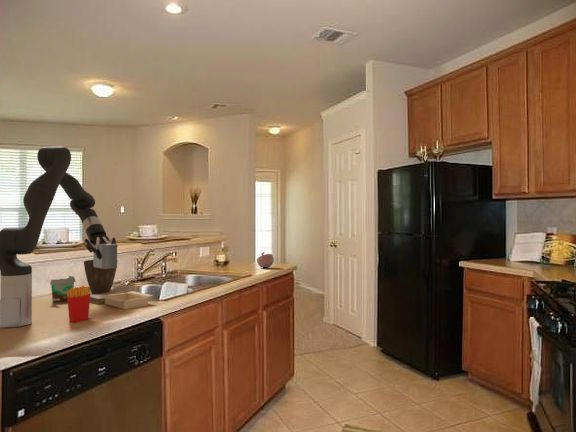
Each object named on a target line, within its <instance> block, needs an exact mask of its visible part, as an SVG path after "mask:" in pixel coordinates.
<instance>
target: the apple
mask: <svg viewBox="0 0 576 432" xmlns="http://www.w3.org/2000/svg"><path fill="white" fill-rule="evenodd" d="M274 258H275V257H274V256H273V254H272V253H265V251H263V252H261V255H259V256H258V257H257V258H256V263H257V265H258V266H259V267H260V268H262V267H269V268H270V267H272V266H273V264H274V262H275V261H274V260H275V259H274Z"/></svg>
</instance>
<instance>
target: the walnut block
mask: <svg viewBox="0 0 576 432" xmlns="http://www.w3.org/2000/svg"><path fill="white" fill-rule="evenodd" d="M115 294H120V293H119V292H115V291H110V292H107V293H100V294H92V293H91V294H90V303H93V304H95V305H103V304H105V298H102V297H99V296H103V295H106V296H108V295H115Z"/></svg>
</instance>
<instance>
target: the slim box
mask: <svg viewBox="0 0 576 432" xmlns="http://www.w3.org/2000/svg"><path fill="white" fill-rule="evenodd" d="M92 246H93V247H94V245H93V244H92ZM98 248H99V249H98V250H100V252H101V255H102V258H101V259H98V258H97V256H96V254H95V253H94V252H92V253H93V254H92V255H93V259H92V260H93V267H97V268H103V269H110V268H116V269H118V261H117V260H118V244H117V243H116V244H98Z"/></svg>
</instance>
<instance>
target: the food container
mask: <svg viewBox="0 0 576 432" xmlns="http://www.w3.org/2000/svg"><path fill="white" fill-rule="evenodd" d="M75 283H76V277H75V276H73V275H69V276H68V277H67V278H59V279H50V284H49V285H51V287H50V288H51V297H52V303H65V302H66V303H68V301H67V297H68V295H67V292H66V291H67V290H68V289H69V290H70V289H71V288H75Z"/></svg>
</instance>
